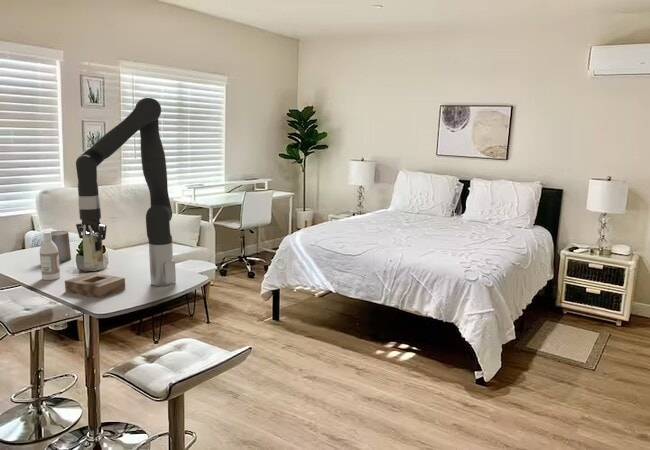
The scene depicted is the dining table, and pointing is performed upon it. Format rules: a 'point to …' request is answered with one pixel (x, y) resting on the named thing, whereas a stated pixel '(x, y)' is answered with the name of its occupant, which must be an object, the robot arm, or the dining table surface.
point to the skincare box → (91, 252)
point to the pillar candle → (62, 244)
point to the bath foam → (49, 258)
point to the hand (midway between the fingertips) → (93, 249)
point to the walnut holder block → (95, 285)
